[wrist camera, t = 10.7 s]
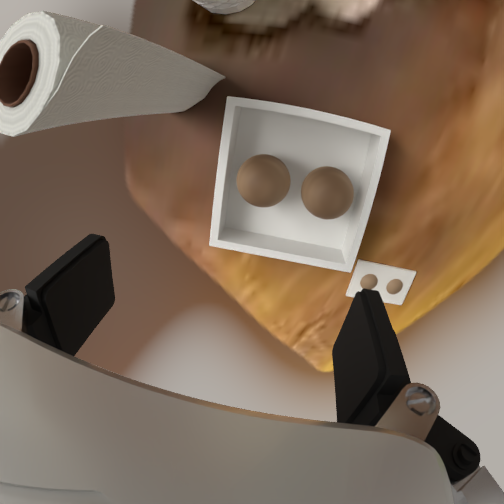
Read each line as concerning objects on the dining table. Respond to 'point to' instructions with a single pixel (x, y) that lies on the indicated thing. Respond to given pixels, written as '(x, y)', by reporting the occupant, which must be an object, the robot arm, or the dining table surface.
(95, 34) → the paper towel roll
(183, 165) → the dining table surface
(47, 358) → the robot arm
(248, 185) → the walnut ball
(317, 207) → the ball
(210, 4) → the white cup
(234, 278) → the dining table surface
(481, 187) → the dining table surface
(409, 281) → the card
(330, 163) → the bin
